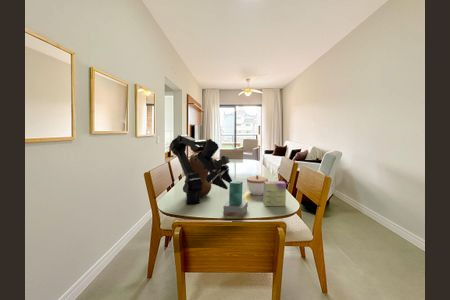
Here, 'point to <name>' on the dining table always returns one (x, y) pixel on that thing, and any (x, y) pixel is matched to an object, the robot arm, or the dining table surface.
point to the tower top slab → (235, 207)
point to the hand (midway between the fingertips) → (230, 186)
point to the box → (274, 193)
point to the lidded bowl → (256, 185)
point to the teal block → (235, 192)
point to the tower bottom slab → (234, 214)
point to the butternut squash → (202, 173)
